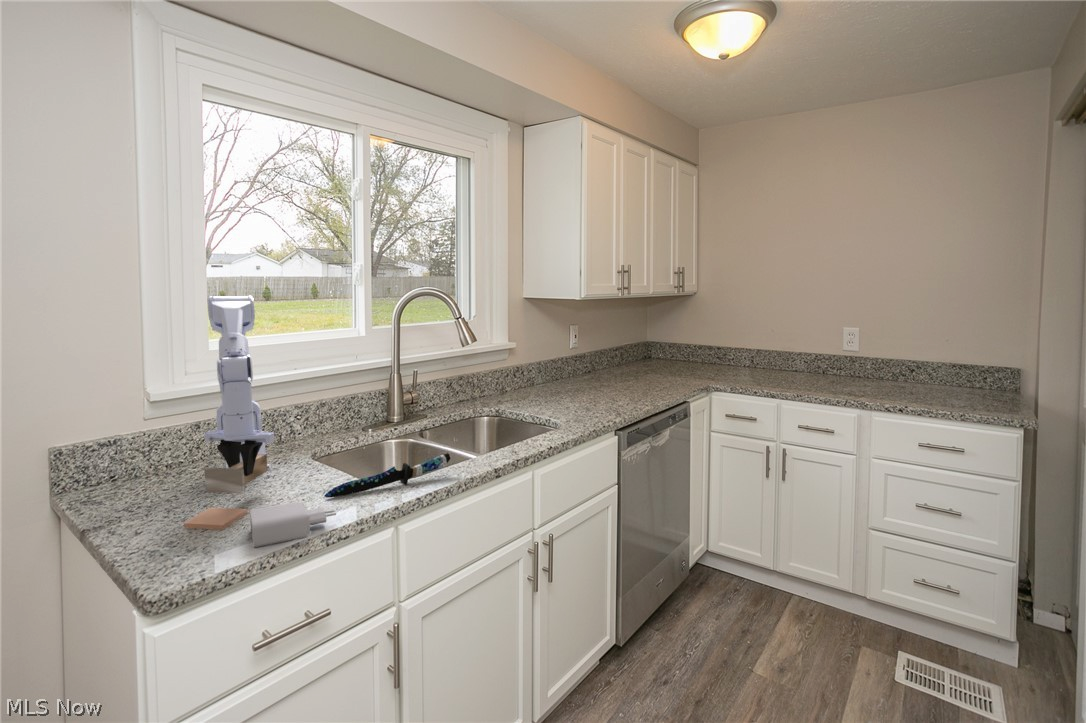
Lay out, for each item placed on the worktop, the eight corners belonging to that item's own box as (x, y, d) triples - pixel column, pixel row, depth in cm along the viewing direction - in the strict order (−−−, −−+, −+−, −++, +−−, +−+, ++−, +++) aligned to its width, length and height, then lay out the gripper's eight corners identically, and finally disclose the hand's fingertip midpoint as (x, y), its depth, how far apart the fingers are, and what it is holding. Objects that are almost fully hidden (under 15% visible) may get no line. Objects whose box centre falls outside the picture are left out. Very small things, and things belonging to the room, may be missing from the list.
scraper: (245, 470, 134) (244, 449, 133) (279, 471, 133) (277, 450, 132) (206, 492, 120) (204, 468, 119) (242, 493, 119) (241, 469, 119)
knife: (450, 468, 146) (447, 451, 146) (454, 471, 144) (452, 454, 143) (324, 503, 131) (320, 485, 131) (326, 508, 129) (323, 489, 128)
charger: (340, 532, 112) (253, 550, 105) (331, 516, 120) (250, 531, 113) (339, 509, 112) (252, 525, 104) (330, 494, 120) (249, 507, 112)
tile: (210, 507, 121) (183, 523, 114) (246, 509, 121) (222, 525, 113) (210, 515, 122) (184, 531, 114) (247, 517, 121) (223, 533, 113)
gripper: (192, 416, 120) (198, 479, 122) (259, 417, 119) (263, 481, 121) (215, 408, 127) (219, 468, 129) (278, 410, 126) (281, 470, 128)
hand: (242, 474), depth 126 cm, fingers closed on scraper, 2 cm apart
